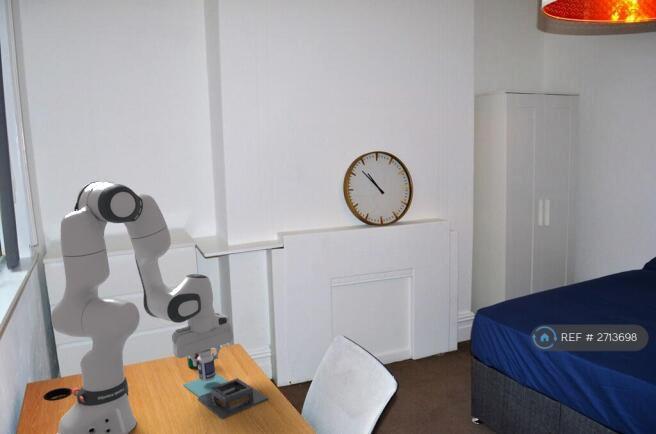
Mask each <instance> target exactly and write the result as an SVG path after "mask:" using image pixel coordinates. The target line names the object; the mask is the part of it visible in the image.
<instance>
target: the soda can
mask: <svg viewBox="0 0 656 434" xmlns="http://www.w3.org/2000/svg"><path fill="white" fill-rule="evenodd" d="M198 357H199V353H196V354H195V357H194V358H195V359H197V358H198ZM186 360H187V367H189V368H190V369H198V366H194V365H193V360H192V359H191V358H190V357H189V356H187V357H186Z"/></svg>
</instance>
